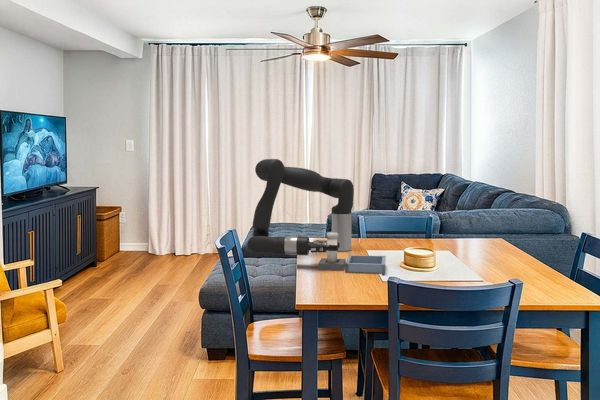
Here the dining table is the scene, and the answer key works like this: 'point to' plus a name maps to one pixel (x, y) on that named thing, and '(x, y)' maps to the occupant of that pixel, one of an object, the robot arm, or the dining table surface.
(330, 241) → the fuse
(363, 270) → the parts tray
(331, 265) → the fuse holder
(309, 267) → the dining table surface
